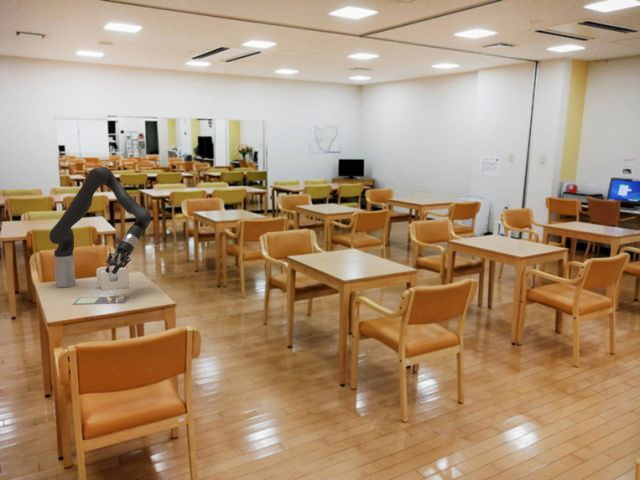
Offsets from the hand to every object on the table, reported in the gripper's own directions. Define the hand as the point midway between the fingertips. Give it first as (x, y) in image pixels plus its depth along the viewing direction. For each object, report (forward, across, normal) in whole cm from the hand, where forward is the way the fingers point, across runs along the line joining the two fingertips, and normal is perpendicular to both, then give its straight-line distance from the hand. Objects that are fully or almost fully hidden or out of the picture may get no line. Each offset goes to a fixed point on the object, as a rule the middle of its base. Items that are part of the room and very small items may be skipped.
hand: (110, 272), depth 267 cm
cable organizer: (-2, -20, +24) cm, 32 cm away
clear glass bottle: (+2, 0, +5) cm, 5 cm away
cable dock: (+12, -5, +10) cm, 17 cm away
